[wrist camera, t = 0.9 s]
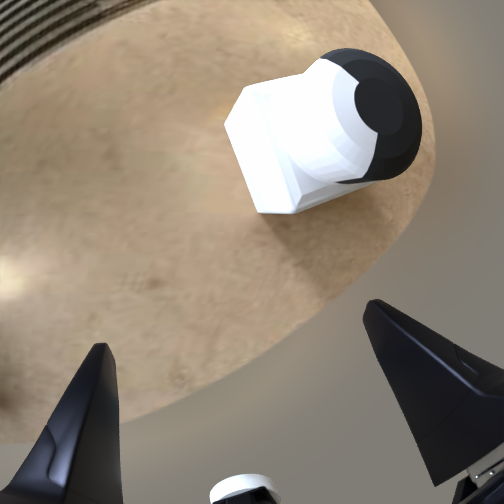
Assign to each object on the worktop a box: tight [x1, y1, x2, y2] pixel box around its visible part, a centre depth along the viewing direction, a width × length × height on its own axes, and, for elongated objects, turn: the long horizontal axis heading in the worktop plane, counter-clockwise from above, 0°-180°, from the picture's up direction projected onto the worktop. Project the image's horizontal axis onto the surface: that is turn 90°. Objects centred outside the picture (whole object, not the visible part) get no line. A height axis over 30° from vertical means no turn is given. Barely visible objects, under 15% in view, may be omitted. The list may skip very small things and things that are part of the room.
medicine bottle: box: [225, 48, 422, 214], centre depth 16 cm, size 7×7×12 cm
